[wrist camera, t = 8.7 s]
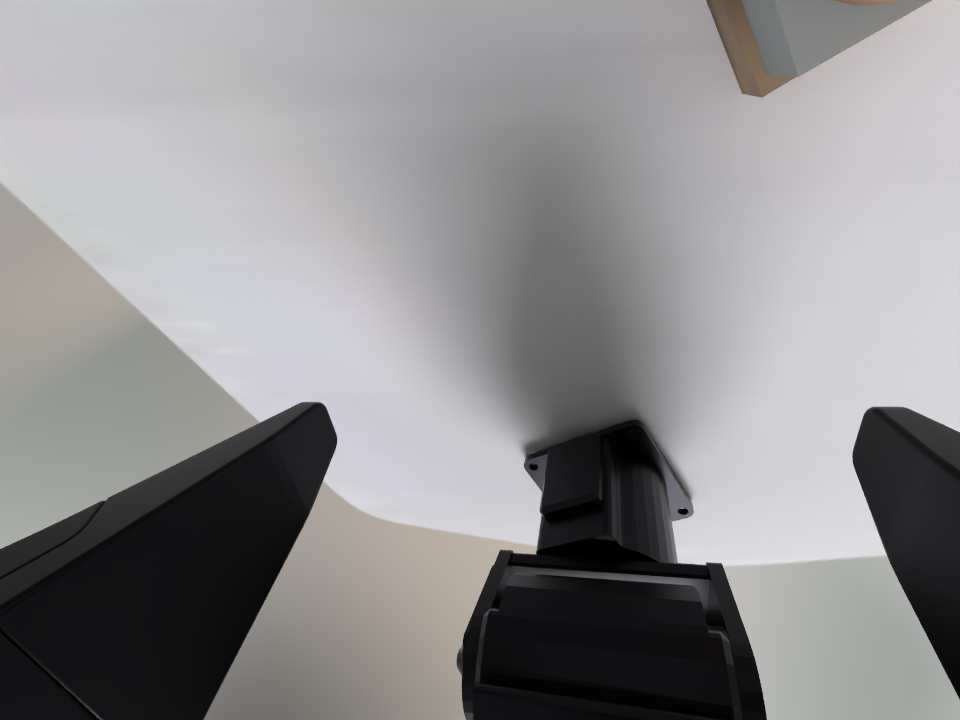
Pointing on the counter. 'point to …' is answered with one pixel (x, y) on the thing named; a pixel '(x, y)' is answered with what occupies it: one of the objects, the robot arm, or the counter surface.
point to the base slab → (743, 48)
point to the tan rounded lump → (865, 2)
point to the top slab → (814, 29)
